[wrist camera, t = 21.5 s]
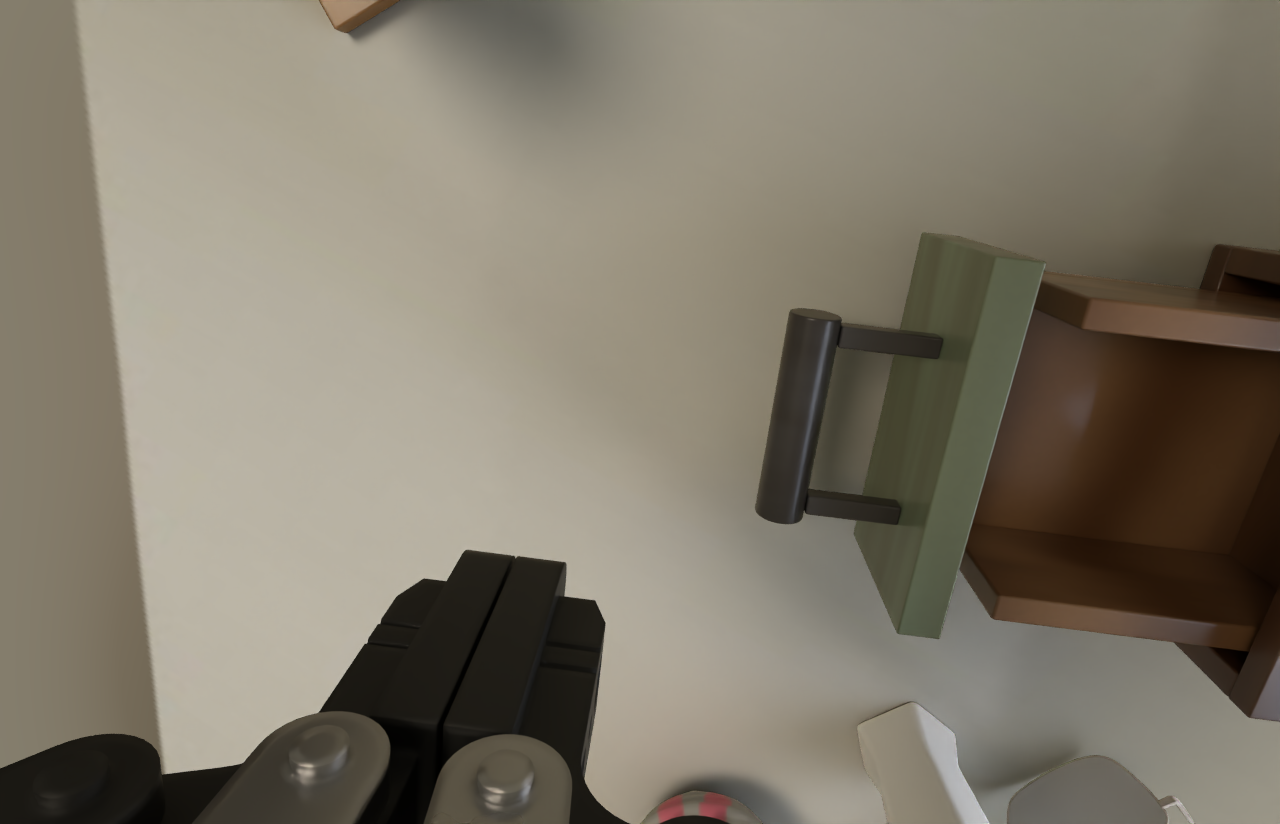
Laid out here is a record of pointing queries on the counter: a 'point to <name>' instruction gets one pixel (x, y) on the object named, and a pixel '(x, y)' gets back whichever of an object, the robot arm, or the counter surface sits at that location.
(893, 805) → the perfume bottle
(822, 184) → the counter surface
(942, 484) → the drawer
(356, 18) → the coaster
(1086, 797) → the eyeglasses
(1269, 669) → the cabinet
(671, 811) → the figurine
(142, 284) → the counter surface
